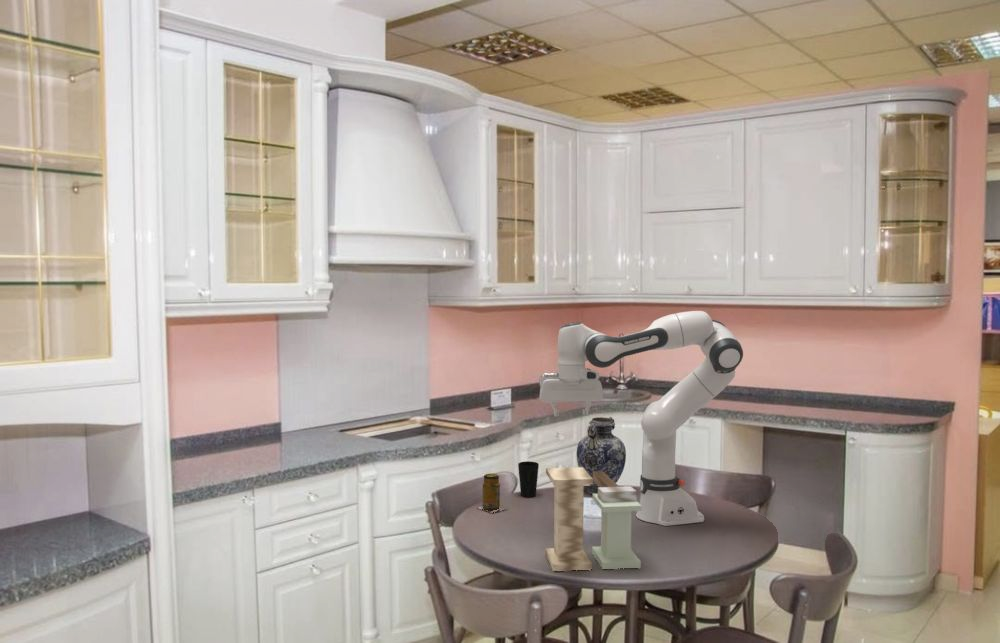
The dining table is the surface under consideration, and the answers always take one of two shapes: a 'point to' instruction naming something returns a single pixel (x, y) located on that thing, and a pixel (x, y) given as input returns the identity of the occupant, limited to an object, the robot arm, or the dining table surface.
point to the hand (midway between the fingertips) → (570, 415)
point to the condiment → (491, 492)
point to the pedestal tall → (568, 519)
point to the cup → (528, 478)
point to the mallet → (612, 489)
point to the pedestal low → (616, 535)
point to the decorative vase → (601, 451)
